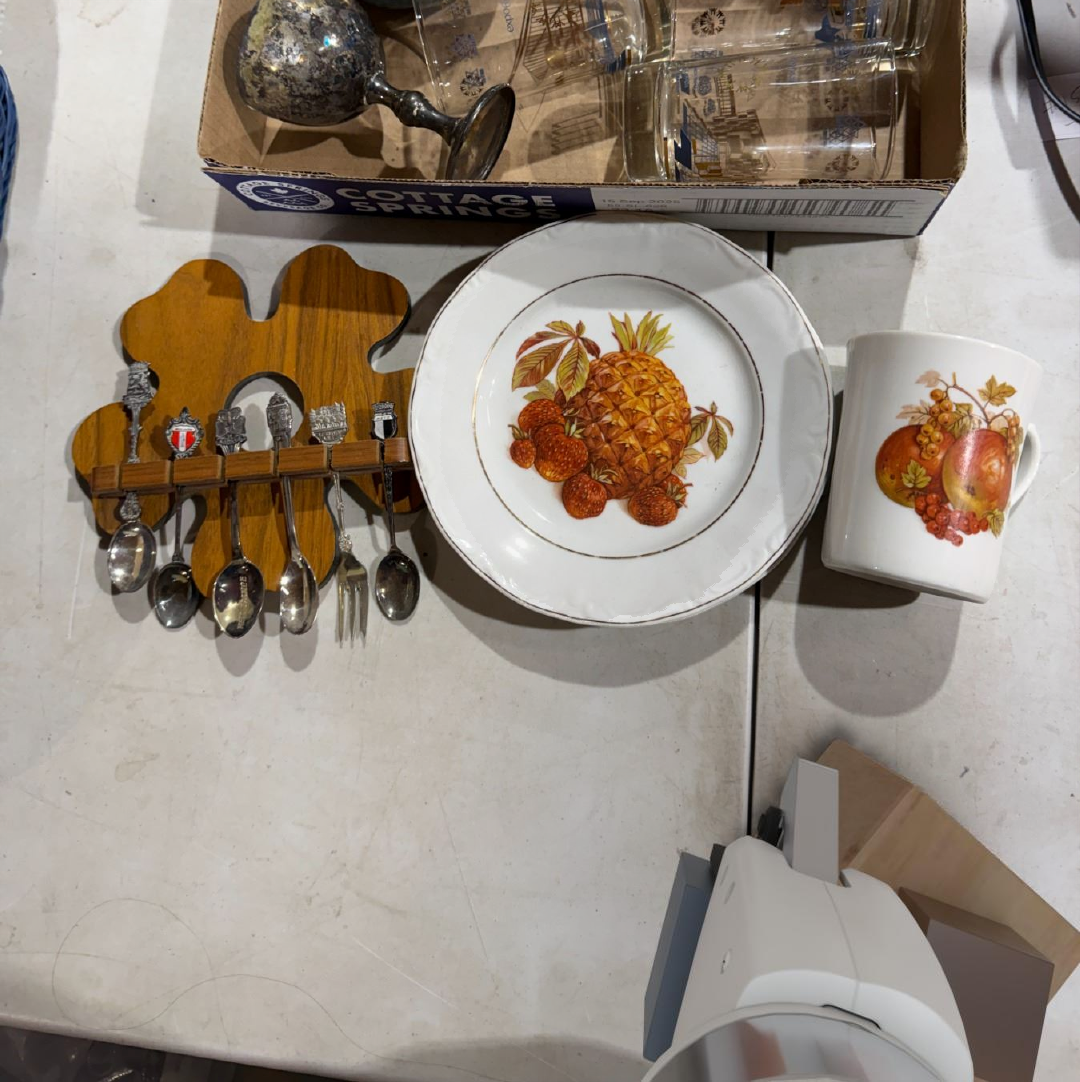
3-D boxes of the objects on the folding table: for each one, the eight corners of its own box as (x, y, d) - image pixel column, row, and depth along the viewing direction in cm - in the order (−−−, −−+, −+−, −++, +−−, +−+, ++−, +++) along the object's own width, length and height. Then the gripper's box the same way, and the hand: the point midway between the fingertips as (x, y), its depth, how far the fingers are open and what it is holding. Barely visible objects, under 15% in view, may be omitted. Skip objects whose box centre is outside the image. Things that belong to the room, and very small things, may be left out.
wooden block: (738, 852, 64) (776, 950, 45) (836, 734, 65) (913, 781, 46) (862, 973, 62) (958, 1131, 43) (961, 848, 63) (1098, 948, 44)
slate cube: (786, 1055, 33) (808, 1126, 28) (643, 1000, 34) (642, 1059, 29) (820, 900, 34) (847, 942, 30) (681, 850, 35) (685, 884, 30)
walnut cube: (987, 1046, 43) (1030, 1099, 38) (873, 1001, 44) (901, 1048, 39) (1011, 927, 44) (1055, 964, 40) (899, 886, 45) (929, 917, 40)
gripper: (943, 2079, 14) (783, 1278, 31) (1132, 839, 18) (896, 738, 35) (453, 1802, 15) (560, 1182, 33) (726, 706, 19) (692, 672, 37)
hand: (735, 954), depth 34 cm, fingers closed on slate cube, 5 cm apart
